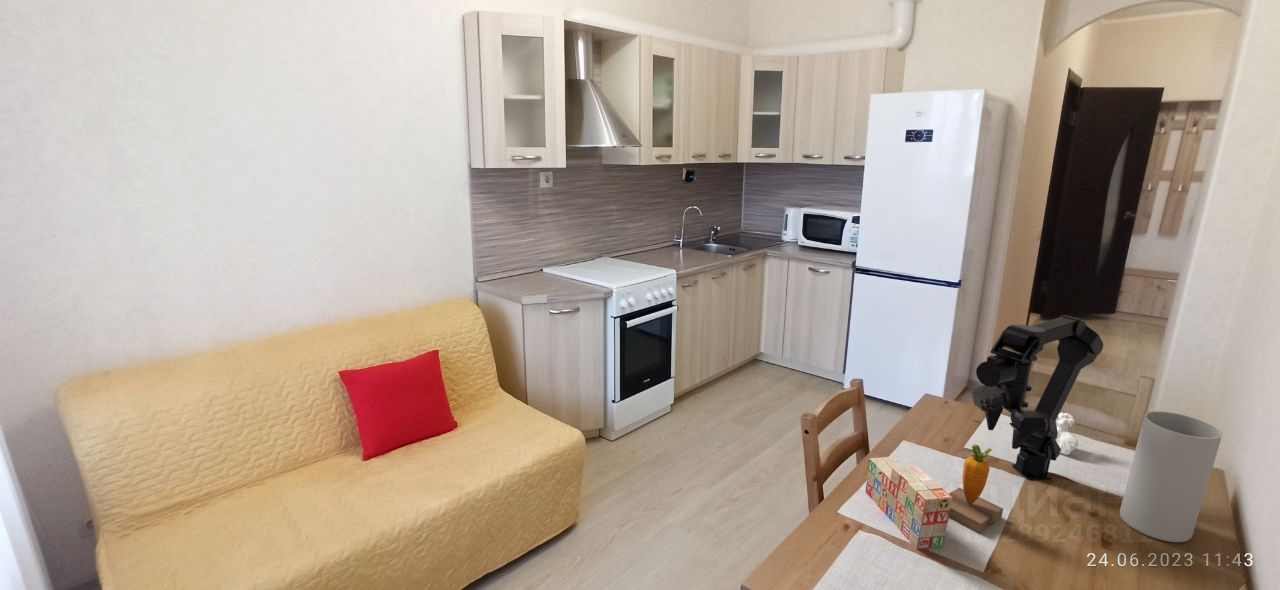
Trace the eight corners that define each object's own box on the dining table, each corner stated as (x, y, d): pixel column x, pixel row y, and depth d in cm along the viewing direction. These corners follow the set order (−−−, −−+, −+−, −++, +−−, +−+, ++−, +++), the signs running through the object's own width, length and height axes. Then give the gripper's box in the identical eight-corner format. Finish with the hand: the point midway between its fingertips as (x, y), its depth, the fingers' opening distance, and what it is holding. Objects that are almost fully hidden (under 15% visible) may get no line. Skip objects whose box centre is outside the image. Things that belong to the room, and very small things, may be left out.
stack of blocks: (864, 492, 145) (870, 446, 142) (888, 490, 146) (894, 444, 143) (917, 550, 124) (925, 498, 121) (944, 548, 125) (953, 496, 122)
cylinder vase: (1117, 527, 133) (1144, 425, 127) (1119, 502, 142) (1144, 406, 136) (1192, 552, 125) (1224, 445, 119) (1189, 524, 135) (1219, 423, 128)
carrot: (983, 503, 137) (995, 444, 133) (979, 513, 133) (991, 453, 129) (959, 495, 140) (970, 437, 136) (955, 504, 136) (966, 445, 132)
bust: (1074, 465, 163) (1099, 431, 163) (1062, 453, 160) (1087, 419, 160) (1033, 444, 174) (1056, 413, 174) (1021, 432, 171) (1044, 400, 171)
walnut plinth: (957, 496, 143) (959, 487, 143) (1001, 518, 135) (1003, 508, 135) (934, 510, 138) (936, 500, 137) (978, 533, 130) (980, 523, 129)
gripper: (958, 364, 149) (948, 421, 153) (1006, 395, 131) (993, 459, 135) (1001, 364, 150) (990, 421, 154) (1055, 395, 132) (1041, 459, 136)
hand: (1002, 439), depth 145 cm, fingers open, 9 cm apart
